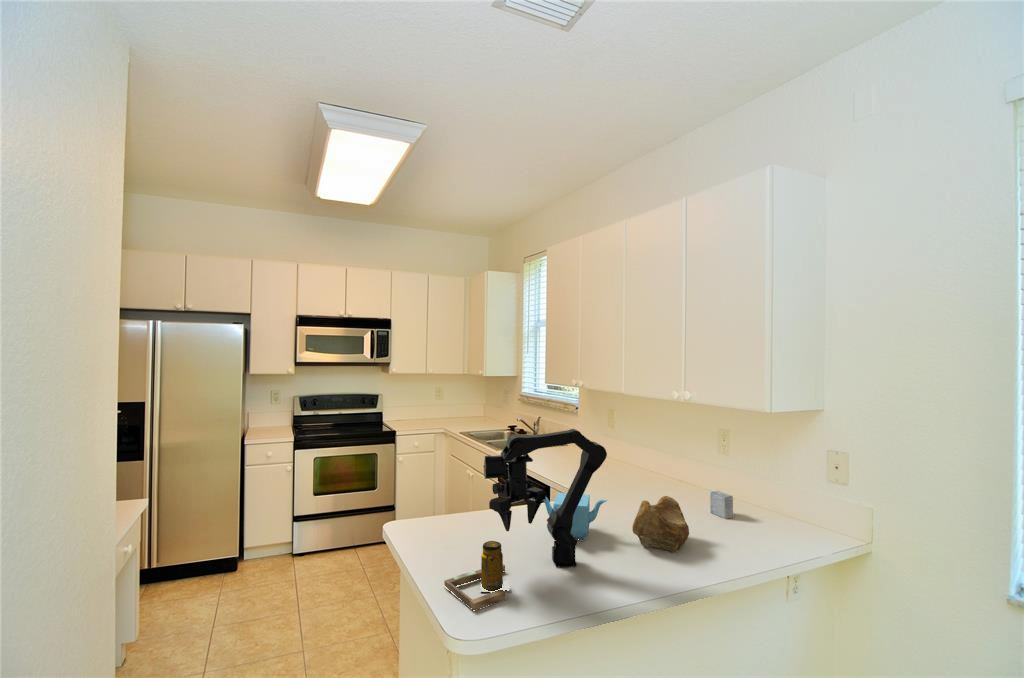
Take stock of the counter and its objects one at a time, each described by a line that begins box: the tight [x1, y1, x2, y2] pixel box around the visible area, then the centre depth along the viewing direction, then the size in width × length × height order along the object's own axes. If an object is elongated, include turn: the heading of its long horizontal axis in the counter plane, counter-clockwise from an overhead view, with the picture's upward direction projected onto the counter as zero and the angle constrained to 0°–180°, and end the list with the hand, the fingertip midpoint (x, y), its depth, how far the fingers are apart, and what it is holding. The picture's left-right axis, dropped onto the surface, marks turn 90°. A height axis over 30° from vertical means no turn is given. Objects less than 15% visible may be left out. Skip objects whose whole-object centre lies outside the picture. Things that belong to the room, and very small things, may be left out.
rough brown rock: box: [631, 495, 690, 554], centre depth 171 cm, size 23×17×15 cm
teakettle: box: [543, 492, 608, 541], centre depth 182 cm, size 19×19×15 cm
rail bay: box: [444, 563, 506, 611], centre depth 141 cm, size 19×16×2 cm
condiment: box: [480, 540, 512, 593], centre depth 142 cm, size 7×8×12 cm
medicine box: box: [709, 490, 734, 520], centre depth 202 cm, size 8×4×9 cm, turn 22°
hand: (518, 527), depth 155 cm, fingers open, 9 cm apart
